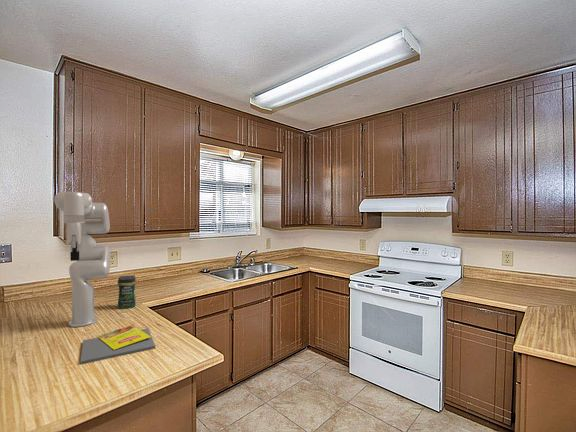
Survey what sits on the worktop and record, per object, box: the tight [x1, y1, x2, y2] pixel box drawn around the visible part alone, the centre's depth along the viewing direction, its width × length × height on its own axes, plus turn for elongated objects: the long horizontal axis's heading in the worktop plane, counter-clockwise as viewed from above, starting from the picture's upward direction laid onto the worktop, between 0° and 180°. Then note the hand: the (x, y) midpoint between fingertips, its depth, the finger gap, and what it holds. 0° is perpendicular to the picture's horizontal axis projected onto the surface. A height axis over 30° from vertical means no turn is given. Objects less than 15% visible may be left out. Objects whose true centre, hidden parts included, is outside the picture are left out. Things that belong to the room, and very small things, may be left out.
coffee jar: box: [117, 274, 137, 309], centre depth 183 cm, size 10×8×19 cm
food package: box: [96, 324, 152, 350], centre depth 137 cm, size 15×1×20 cm
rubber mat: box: [80, 328, 156, 365], centre depth 132 cm, size 22×26×1 cm
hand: (75, 260), depth 139 cm, fingers closed
